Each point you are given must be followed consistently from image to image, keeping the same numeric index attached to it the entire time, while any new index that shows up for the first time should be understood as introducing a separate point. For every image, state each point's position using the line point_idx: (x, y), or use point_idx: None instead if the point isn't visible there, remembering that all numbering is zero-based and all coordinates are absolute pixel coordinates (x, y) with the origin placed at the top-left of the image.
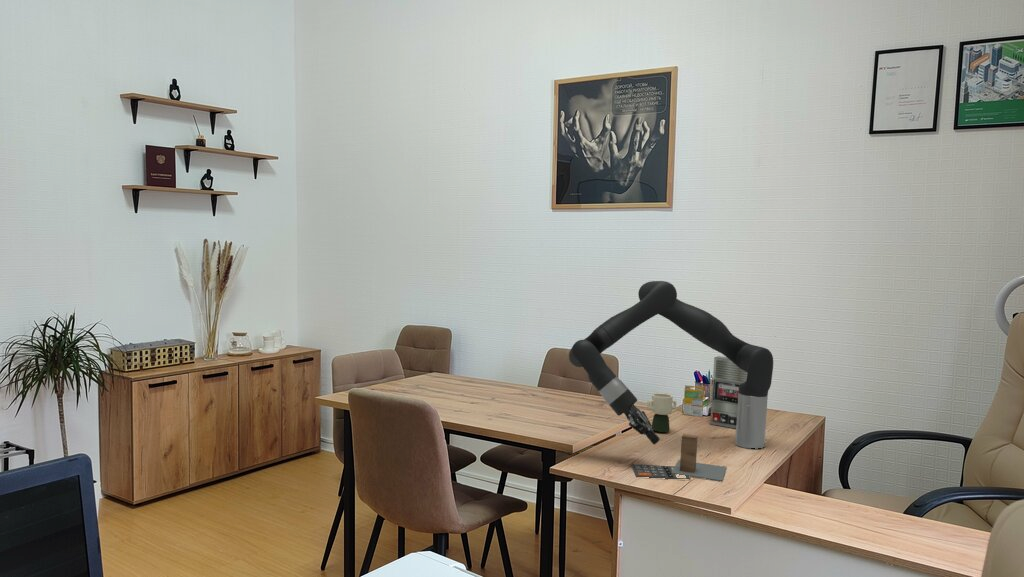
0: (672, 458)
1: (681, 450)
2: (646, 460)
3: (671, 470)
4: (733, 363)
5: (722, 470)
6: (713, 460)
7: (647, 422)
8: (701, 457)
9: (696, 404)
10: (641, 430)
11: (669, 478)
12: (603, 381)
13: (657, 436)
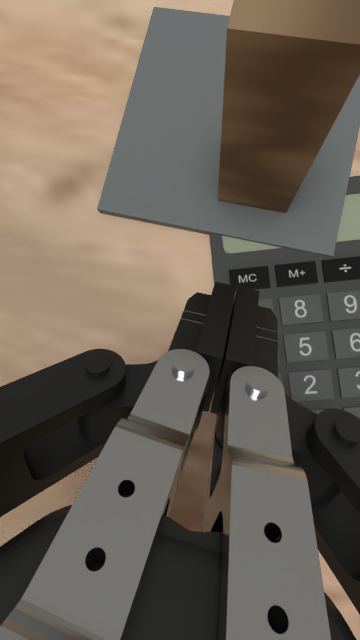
0: (55, 236)
1: (322, 142)
2: None
3: (286, 253)
4: None
5: (216, 26)
6: (44, 59)
7: (135, 419)
8: (8, 106)
9: None
10: (332, 498)
11: None
12: None
13: (223, 298)
